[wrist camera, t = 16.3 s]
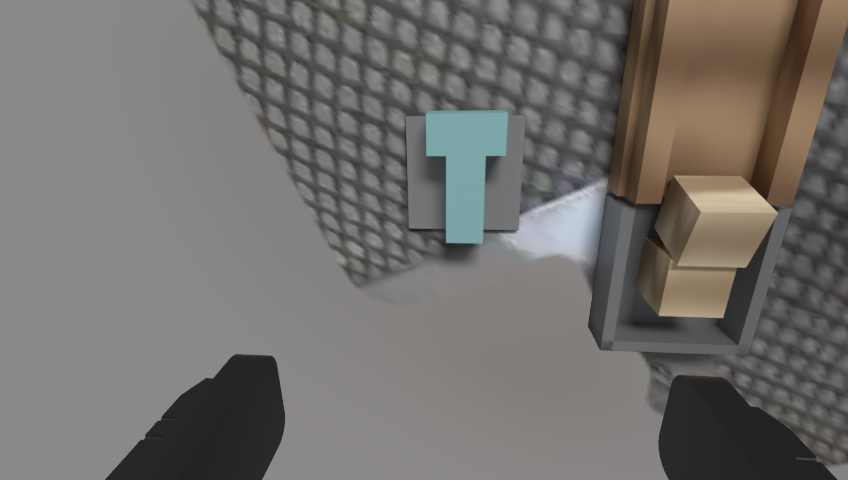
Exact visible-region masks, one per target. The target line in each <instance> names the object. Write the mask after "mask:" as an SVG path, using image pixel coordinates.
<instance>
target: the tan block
mask: <svg viewBox="0 0 848 480" xmlns="http://www.w3.org/2000/svg"><path fill="white" fill-rule="evenodd" d="M736 270H737V267H699V266H676V264H675V262H674V260H673V259H672V257H671V255H670V254H669V252H668V250H667V248H666V247H665V245H664V243H663V241H662V240H661V238H647V237H645V239H644V245H643V250H642V256H641V261H640V266H639V272H638V277H637V282H636V289H637V290H638V292H639V293H640V294H641V295H642V296H643V298H644V299H645V300H646V301H647V302H648V304H649V305H650V306H651V307H652V308H653V310H654V311H655V312H656V313H657V314H658V316H677V317H706V318H723V317H724V313H725V310H726V306H727V302H728V299H729V295H730V291H731V288H732V284H733V281H734V277H735V273H736Z"/></svg>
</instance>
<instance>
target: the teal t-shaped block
mask: <svg viewBox="0 0 848 480" xmlns="http://www.w3.org/2000/svg"><path fill="white" fill-rule="evenodd" d="M507 124H508V112H506V111H505V110H472V111H428V112H427V113H426V156H446V243H483V223H484V193H485V164H486V156H506V144H507Z"/></svg>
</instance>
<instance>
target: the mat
mask: <svg viewBox="0 0 848 480" xmlns="http://www.w3.org/2000/svg"><path fill="white" fill-rule="evenodd" d="M525 122H526V115H508V124H507V144H506V156H486V164H485V193H484V223H483V230H518V226H519V211H520V196H521V181H522V166H523V152H524V137H525ZM406 142H407V177H408V212H409V228H413V229H446V156H426V116H406Z"/></svg>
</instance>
